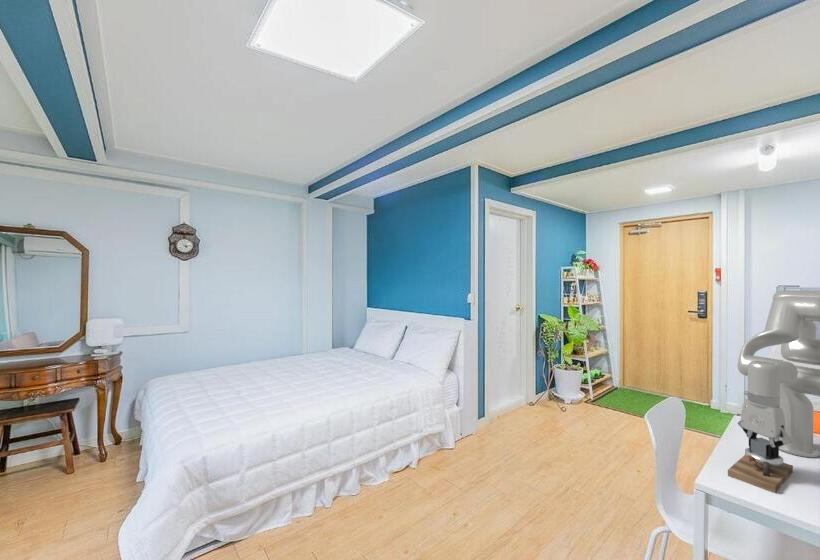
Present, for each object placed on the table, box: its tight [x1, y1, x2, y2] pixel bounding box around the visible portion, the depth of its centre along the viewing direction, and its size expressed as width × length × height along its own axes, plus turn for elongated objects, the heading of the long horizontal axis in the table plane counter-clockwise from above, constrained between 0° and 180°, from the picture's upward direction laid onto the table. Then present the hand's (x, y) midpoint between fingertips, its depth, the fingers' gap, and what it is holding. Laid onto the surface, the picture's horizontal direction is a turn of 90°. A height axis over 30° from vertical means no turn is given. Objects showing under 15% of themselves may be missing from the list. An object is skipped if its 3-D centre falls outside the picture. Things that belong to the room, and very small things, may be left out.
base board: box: [727, 454, 794, 494], centre depth 115 cm, size 21×11×6 cm, turn 122°
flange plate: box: [743, 437, 785, 467], centre depth 115 cm, size 11×9×6 cm
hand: (763, 453), depth 116 cm, fingers closed on flange plate, 4 cm apart
